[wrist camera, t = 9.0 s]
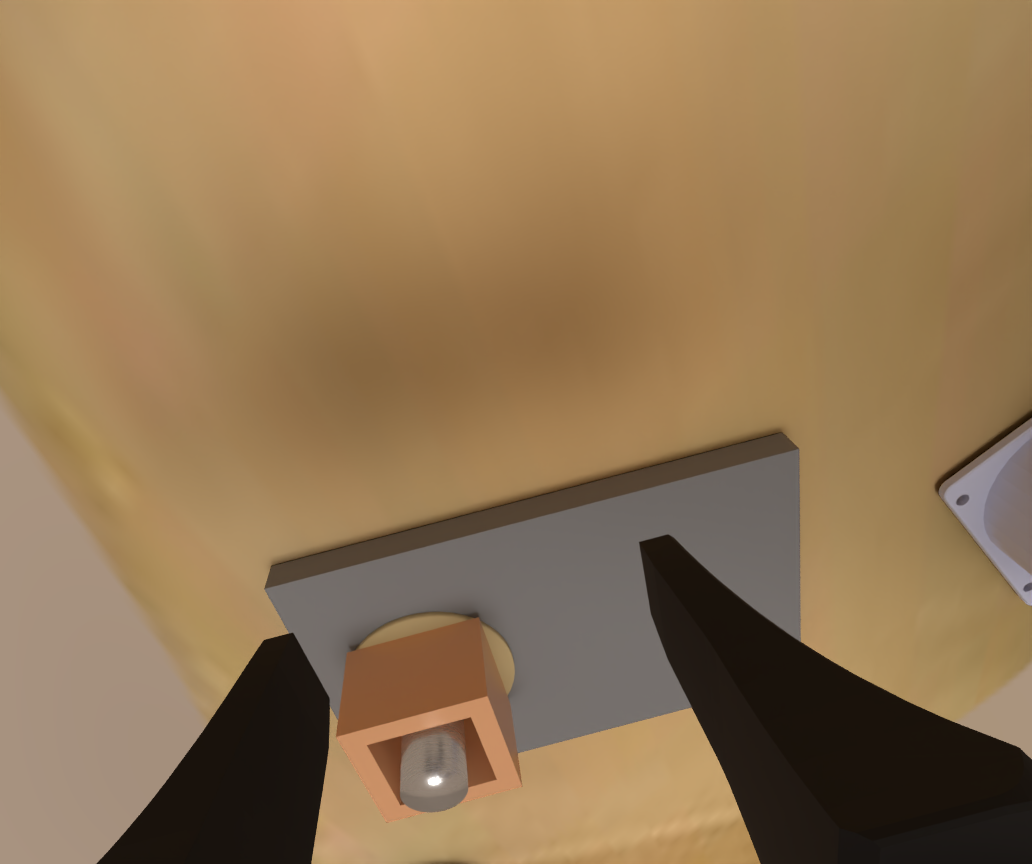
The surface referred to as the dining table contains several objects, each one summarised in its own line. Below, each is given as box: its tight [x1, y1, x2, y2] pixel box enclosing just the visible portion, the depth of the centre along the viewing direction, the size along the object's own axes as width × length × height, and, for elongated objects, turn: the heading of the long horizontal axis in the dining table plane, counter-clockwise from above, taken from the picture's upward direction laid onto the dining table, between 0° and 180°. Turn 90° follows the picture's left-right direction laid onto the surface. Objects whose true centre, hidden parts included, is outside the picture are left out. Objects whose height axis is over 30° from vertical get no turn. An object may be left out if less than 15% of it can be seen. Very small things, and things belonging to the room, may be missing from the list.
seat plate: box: [264, 433, 801, 753], centre depth 26 cm, size 19×12×2 cm, turn 103°
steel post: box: [400, 719, 468, 812], centre depth 24 cm, size 2×2×6 cm
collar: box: [336, 617, 522, 823], centre depth 24 cm, size 5×5×4 cm
